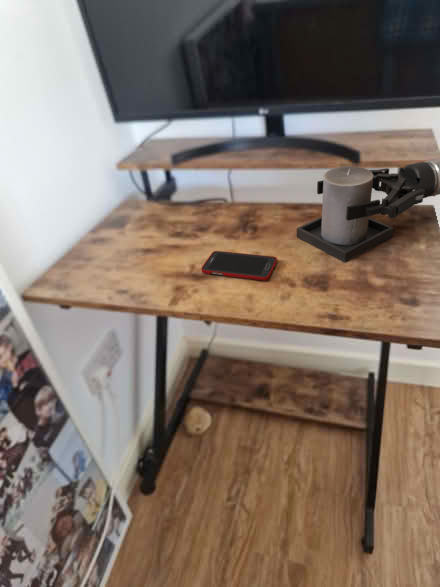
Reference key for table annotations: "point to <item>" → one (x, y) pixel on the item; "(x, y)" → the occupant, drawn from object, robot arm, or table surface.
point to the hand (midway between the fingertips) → (331, 200)
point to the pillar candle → (345, 204)
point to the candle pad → (344, 253)
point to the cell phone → (240, 265)
